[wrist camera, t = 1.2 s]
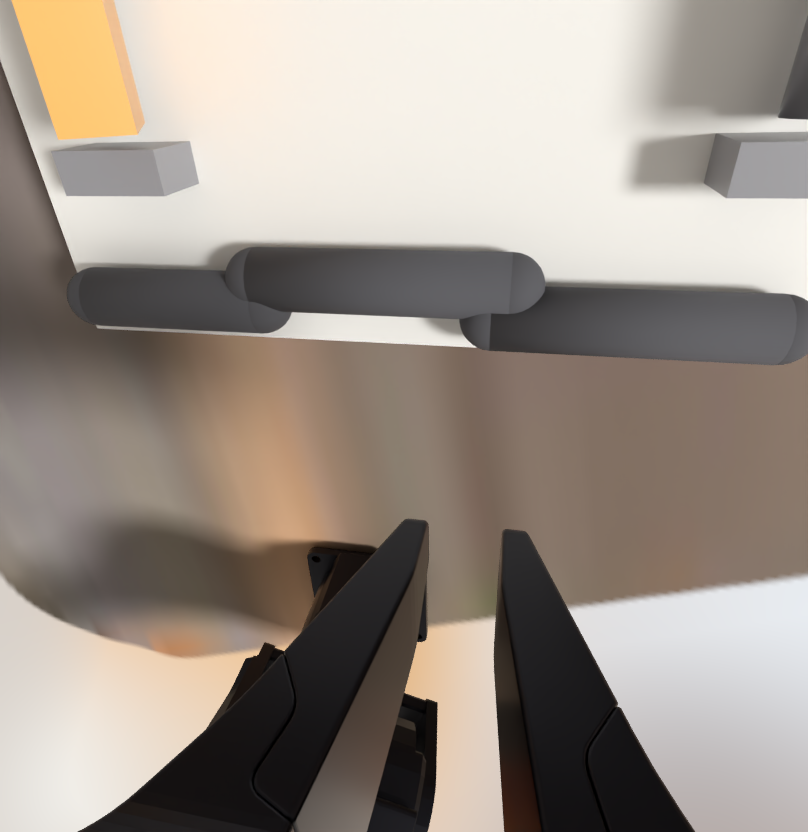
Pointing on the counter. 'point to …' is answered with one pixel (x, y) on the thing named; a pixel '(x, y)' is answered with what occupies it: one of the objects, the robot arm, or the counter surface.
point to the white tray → (444, 142)
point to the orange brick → (81, 66)
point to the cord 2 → (449, 303)
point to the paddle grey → (797, 83)
